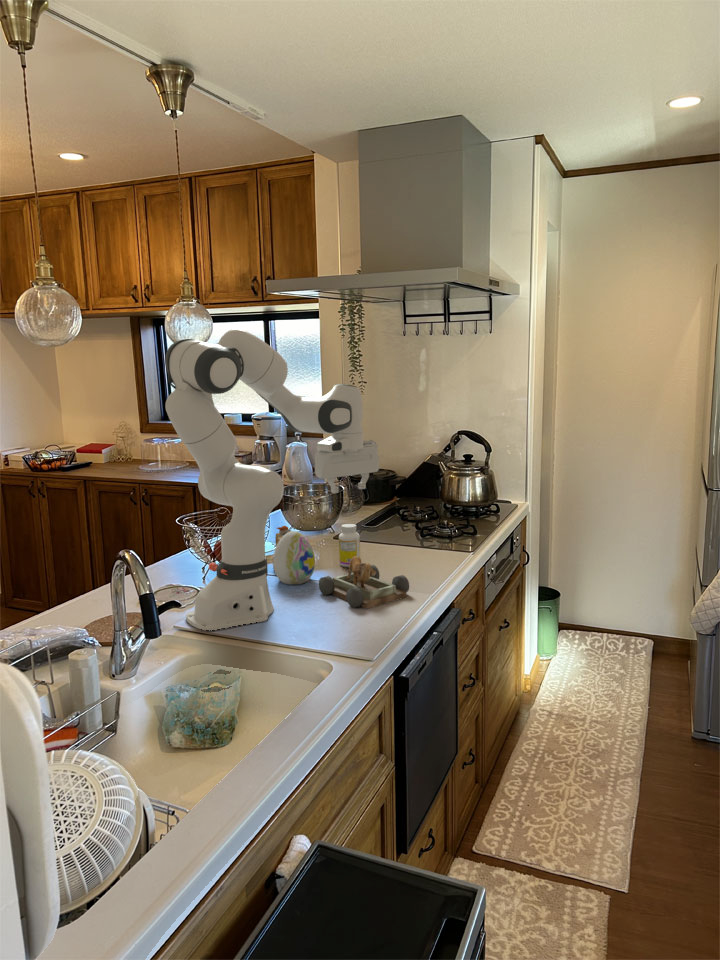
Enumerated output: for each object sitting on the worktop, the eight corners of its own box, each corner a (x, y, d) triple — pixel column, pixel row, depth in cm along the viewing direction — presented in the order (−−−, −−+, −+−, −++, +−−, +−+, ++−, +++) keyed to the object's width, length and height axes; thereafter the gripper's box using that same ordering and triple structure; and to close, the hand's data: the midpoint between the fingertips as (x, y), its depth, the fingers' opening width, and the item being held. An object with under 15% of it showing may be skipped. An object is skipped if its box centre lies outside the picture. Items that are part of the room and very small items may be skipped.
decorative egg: (299, 589, 206) (297, 538, 203) (265, 583, 212) (263, 533, 210) (323, 577, 216) (322, 529, 213) (290, 572, 222) (288, 524, 220)
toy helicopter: (275, 574, 220) (274, 530, 218) (266, 556, 240) (264, 516, 238) (302, 571, 223) (300, 528, 220) (290, 554, 242) (288, 514, 240)
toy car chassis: (360, 610, 188) (359, 592, 187) (316, 591, 203) (316, 574, 202) (411, 595, 199) (411, 578, 198) (366, 578, 214) (366, 562, 213)
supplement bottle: (347, 560, 233) (346, 522, 231) (364, 563, 230) (363, 524, 227) (335, 565, 228) (334, 526, 226) (352, 569, 224) (351, 528, 222)
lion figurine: (375, 595, 198) (379, 566, 194) (357, 597, 196) (360, 568, 192) (355, 569, 210) (358, 541, 207) (338, 571, 208) (340, 543, 205)
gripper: (370, 438, 210) (371, 485, 213) (311, 444, 199) (312, 493, 201) (383, 440, 205) (384, 487, 208) (323, 446, 194) (325, 497, 196)
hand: (348, 490), depth 204 cm, fingers open, 8 cm apart
